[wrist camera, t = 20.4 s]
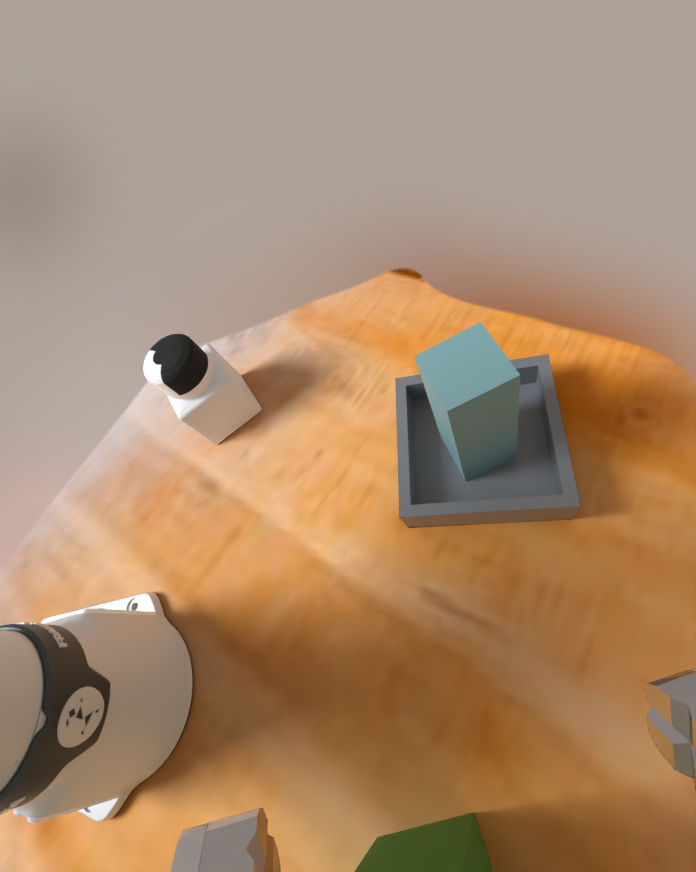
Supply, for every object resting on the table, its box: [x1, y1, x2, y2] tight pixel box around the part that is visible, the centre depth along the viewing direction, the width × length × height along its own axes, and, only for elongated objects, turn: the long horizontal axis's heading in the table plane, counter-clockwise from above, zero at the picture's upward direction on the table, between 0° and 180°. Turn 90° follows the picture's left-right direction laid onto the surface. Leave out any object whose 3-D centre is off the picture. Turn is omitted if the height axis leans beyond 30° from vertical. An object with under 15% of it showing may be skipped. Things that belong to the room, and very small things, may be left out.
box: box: [396, 354, 580, 528], centre depth 40 cm, size 14×14×4 cm
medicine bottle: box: [144, 334, 262, 444], centre depth 49 cm, size 7×7×12 cm
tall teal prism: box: [415, 322, 520, 481], centre depth 34 cm, size 5×5×14 cm
